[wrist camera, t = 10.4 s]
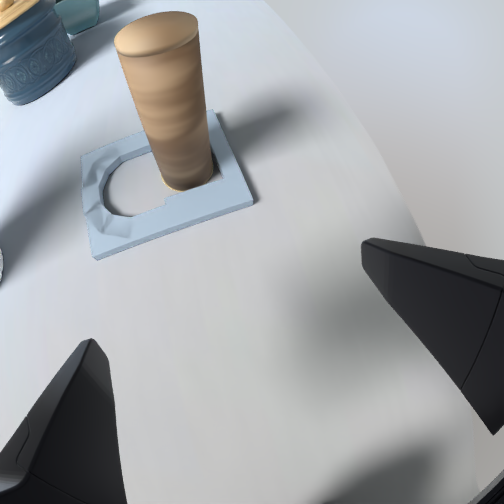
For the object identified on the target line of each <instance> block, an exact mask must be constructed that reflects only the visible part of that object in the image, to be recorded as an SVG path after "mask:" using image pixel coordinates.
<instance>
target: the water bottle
mask: <svg viewBox="0 0 504 504" xmlns="http://www.w3.org/2000/svg"><path fill="white" fill-rule="evenodd" d="M2 270H3V256H2V251H1V249H0V280H1V277H2Z"/></svg>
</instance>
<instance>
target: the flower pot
mask: <svg viewBox="0 0 504 504" xmlns="http://www.w3.org/2000/svg"><path fill="white" fill-rule="evenodd" d="M54 9H55V11H56V13H57V14H59V15H61V16H62V22H63V25H64V27H65V30H66V32H67V33H68V34H70V35H74V34H76V33H78V32H80V31H82V30H85V29H87V28H89V27H92V26H94V25H96V24H97V21H98V17H99V0H56V4H55V6H54Z"/></svg>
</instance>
